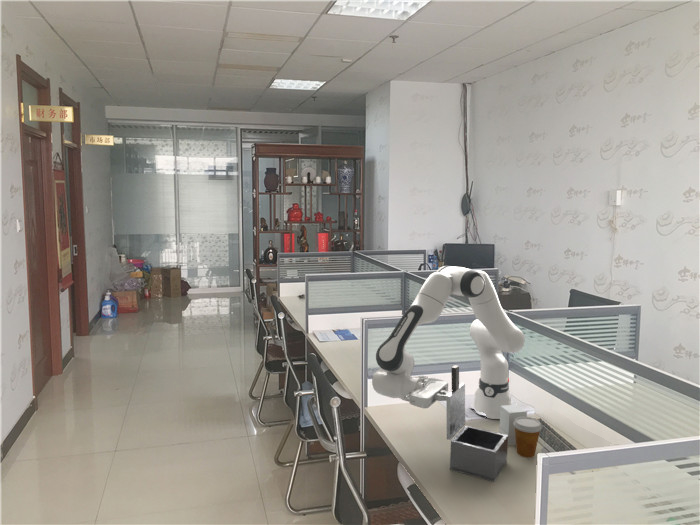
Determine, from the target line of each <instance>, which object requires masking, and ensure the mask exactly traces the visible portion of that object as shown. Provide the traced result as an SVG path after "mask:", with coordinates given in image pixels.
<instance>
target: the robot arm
mask: <svg viewBox="0 0 700 525" xmlns="http://www.w3.org/2000/svg"><path fill="white" fill-rule="evenodd" d="M416 294H417V295H416V296H415V298H414V299H413V301H412V303H411V305H410V306H409V307H408V308H407V309H406V310H405V312H404V313H403V314H402V316H401V318H400V319H399V321H398V322H397V324H396V325H395V327H394V329H393V330H392V332H391V333H390V335H389V336H388V338H386V340H385V341H383V342H382V343H381V344H380V345H379V346H378V348H377V350H376V353H375V361H376V363H377V365H378V367H380V368H379V369H378V370H377V371H375V372H374V373H373V374H372V379H371V380H372V381H371V383H372V389H373V390H374V391H375V393H377V394H378V395H380V396H384V397H387V398H391V399H399V400H402V401H404V402H409V404H410V405H411V406H413V407H418V408H422V409H429V408H430V407H431V406H433V405H434V404H435V403H436V402H446V396H447V395H448V394H449V393H450V392H449V383H448V381H445V380H443V379H441V378H440V379H439V378H435V377H429V376H428V375H425V374H422V375H419V376H418V375H417V376H412V373H413V371H414V367H415V359H414V356H413V355H412V354H411V353H409V352H408V351H407V350H405V347H406V345H407V343H408V341H409V339H410V338H411V336H412V335H413V333H414V331H415V330H416V328H417V327H419V326H420V325H423V324H431V323H433V322H436V321H437V319H439V317H440V316H441V314H442V313H443V311H444V308H445V307H446V304H447V302H448V299H449V297H450V296H451V295H454V296H457V297H458V296H459V297H465V298H468V301H469V304H470V307H471V309H472V312H473V314H474V317H475V318H476V319H475V320H473V321H472V323H471V325H470V326H469V336H470V337H471V339H472V340H473V342H474V343H475V345H476V348H477V351H478V354H479V359H480V378H478V379H479V380H478V388H477V389H475V392H474V399H473V400H474V401H473V403H472V404H471V405H470V406H473V405H474V408H475V409H476V410H477V411H479V412H483V413H485V414H486V416H487V418H486V419H492V420H500V408H501V406H505V405H512V404H511V401H513V400H512V398H513V397H512V396H513V395H512V394H513V393H512V392H511V391H510V390H509V388H510V378H508V376H509V363H508V360H507V359H506V358H505V356H504V355H503V352H504V353H508V354H509V353H510V354H512V353H513V354H516V353H519V352H520V351H521V350H522V349H523V348H524V346H525V341H526V340H525V339H526V338H525V334H524V332H523V331H522V330H520V329H519V328H518V327H517V326H516V325H515V324H514V322H513V321H512V320H511V319H510V318H509V317H508V315H507V314H506V312H505V311H504V308H503V307H502V305H501V302H500V299H499V296H498V294H497V291H496V288H495V286H494V284H493V282H492V280H491V278H490V276H489V274H488V273H486V272H485V271H484V270H474V269H471V268H466V267H463V266H452V265H443V266H441V267H439V268H438V269H437V270H436V271H435V272H433V273H431V274H429V276H428V277H427V278H426V280H425V281H424V283H423V284H422V285H421V288H420V289H419V291H418V293H416Z"/></svg>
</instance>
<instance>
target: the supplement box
mask: <svg viewBox="0 0 700 525" xmlns="http://www.w3.org/2000/svg"><path fill="white" fill-rule="evenodd" d="M527 415H528V411H527V410H526V409H525V408H523V407H521V406H520V405H519V404H516V405H505V406H501V408H500V419H499V428H498V429H499V430H498V433H501V434H505V435H508V446H516V436H515V427H514V422H515V419H516V418H518V417H528V416H527Z"/></svg>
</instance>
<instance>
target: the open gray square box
mask: <svg viewBox="0 0 700 525" xmlns="http://www.w3.org/2000/svg"><path fill="white" fill-rule="evenodd" d="M508 446H509V445H508V435H505V434H501V433H499V432H497V431H492V430H488V429H484V428H481V427H480V428H479V427H474V426H471V425H466V424H465V425H464V426H463V427H462V428H461V429H460V430H459V431H458V432H457V433H456V434H455V436H454V437H453V438H452V439H451V440H450V454H449V456H450V457H449V470H450V471H454V472H458V473H461V474H465V475H468V476H472V477H476V478H479V479H482V480H486V481H490V482H493V483H494V482H495V481H496V480H497V478H498V477H499V475H500V474H501V472H502V470H503V469H504V468H505V466H506V464H507V463H508V461H507V460H508Z"/></svg>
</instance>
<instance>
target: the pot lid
mask: <svg viewBox="0 0 700 525" xmlns="http://www.w3.org/2000/svg"><path fill="white" fill-rule="evenodd" d="M448 393H449V394H448V395H447V396H446V401H445V402H446V403H445V404H446V441H447V440H449V441H452V440H453V439H454V437H455V436H456V435H457V434H458V433H459V432H460V431H461V430H462V429H463V428H464V427H465V426H466V383H465V382H461V383H460V365H457V364H456V365H455V364H454V365H453V366H451V391H450V392H448Z"/></svg>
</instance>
